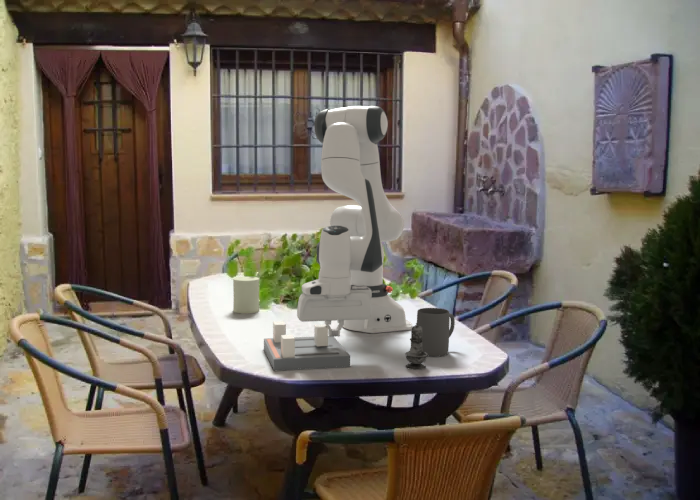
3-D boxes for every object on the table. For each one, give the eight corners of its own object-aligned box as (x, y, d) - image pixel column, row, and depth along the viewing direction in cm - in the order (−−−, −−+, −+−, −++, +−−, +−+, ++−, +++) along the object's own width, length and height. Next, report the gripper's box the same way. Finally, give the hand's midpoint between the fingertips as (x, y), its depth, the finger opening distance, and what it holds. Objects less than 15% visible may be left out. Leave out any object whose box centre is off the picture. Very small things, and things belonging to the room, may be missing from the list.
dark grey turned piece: (403, 363, 200) (404, 319, 198) (424, 363, 200) (426, 319, 199) (406, 370, 194) (407, 324, 192) (429, 370, 194) (430, 324, 193)
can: (264, 310, 265) (264, 276, 264) (247, 314, 257) (247, 280, 256) (244, 307, 270) (244, 274, 269) (227, 311, 262) (227, 277, 261)
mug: (433, 358, 205) (434, 315, 204) (409, 352, 212) (410, 310, 210) (465, 350, 214) (466, 309, 213) (441, 344, 221) (442, 304, 219)
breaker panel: (332, 345, 217) (333, 318, 216) (350, 366, 196) (350, 336, 195) (263, 348, 213) (263, 321, 212) (273, 370, 191) (273, 340, 190)
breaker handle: (325, 342, 207) (325, 324, 206) (327, 345, 203) (328, 327, 203) (314, 342, 206) (314, 325, 206) (317, 346, 203) (317, 328, 202)
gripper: (368, 283, 209) (367, 332, 211) (296, 285, 204) (295, 334, 206) (374, 287, 203) (373, 337, 205) (300, 289, 198) (299, 340, 200)
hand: (334, 336), depth 205 cm, fingers closed
